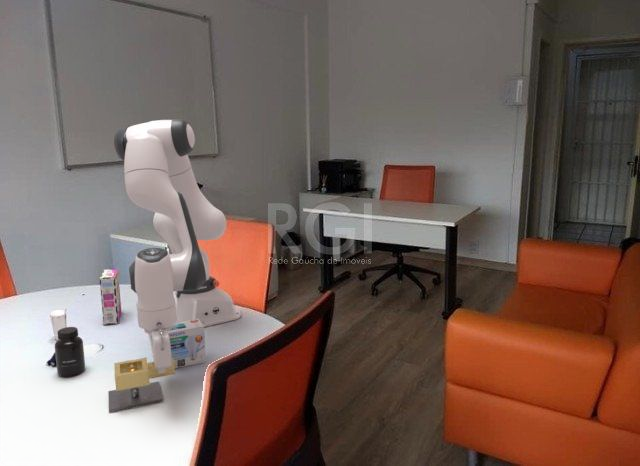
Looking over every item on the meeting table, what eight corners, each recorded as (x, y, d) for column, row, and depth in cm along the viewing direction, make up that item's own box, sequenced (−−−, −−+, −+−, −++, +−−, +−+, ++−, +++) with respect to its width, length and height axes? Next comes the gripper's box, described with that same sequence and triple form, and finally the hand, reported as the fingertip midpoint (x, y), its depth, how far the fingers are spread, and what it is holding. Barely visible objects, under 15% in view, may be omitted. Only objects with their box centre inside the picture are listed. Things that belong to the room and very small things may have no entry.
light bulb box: (168, 370, 135) (165, 333, 132) (163, 360, 141) (160, 324, 138) (207, 362, 140) (205, 326, 137) (201, 352, 145) (198, 317, 143)
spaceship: (42, 369, 135) (42, 351, 135) (49, 363, 141) (49, 346, 141) (72, 367, 137) (71, 348, 137) (78, 361, 143) (77, 344, 143)
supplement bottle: (67, 380, 130) (62, 337, 127) (52, 373, 133) (46, 331, 131) (91, 369, 135) (86, 328, 133) (76, 363, 139) (71, 323, 136)
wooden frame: (172, 366, 127) (172, 353, 126) (176, 379, 120) (175, 366, 120) (115, 376, 122) (114, 363, 121) (116, 391, 115) (114, 376, 115)
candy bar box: (119, 324, 166) (115, 277, 163) (103, 325, 165) (98, 278, 162) (122, 312, 177) (118, 268, 173) (107, 313, 176) (103, 269, 172)
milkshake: (64, 342, 153) (61, 311, 150) (49, 340, 154) (45, 310, 152) (74, 336, 157) (71, 306, 155) (59, 334, 158) (56, 305, 156)
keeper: (159, 384, 128) (157, 356, 126) (163, 401, 119) (160, 372, 118) (108, 394, 123) (105, 365, 121) (109, 413, 115) (105, 383, 113)
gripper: (176, 330, 111) (180, 386, 114) (166, 301, 130) (169, 350, 133) (146, 334, 109) (151, 392, 112) (140, 304, 127) (144, 354, 130)
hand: (161, 369), depth 122 cm, fingers closed on wooden frame
